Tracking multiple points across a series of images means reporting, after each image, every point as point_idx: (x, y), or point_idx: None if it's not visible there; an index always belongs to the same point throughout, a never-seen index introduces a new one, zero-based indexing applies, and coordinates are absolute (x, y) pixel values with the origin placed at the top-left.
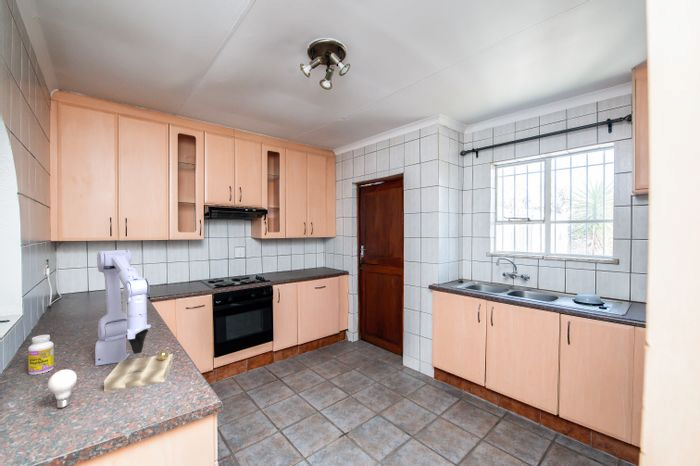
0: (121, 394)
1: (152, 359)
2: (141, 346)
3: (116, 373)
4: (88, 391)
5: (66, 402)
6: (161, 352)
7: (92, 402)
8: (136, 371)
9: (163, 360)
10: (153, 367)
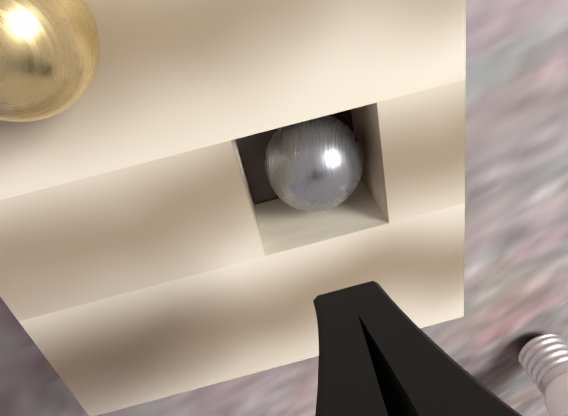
0: (513, 135)
1: (36, 172)
2: (441, 351)
3: None
4: None
5: (565, 347)
6: (37, 55)
7: (546, 247)
8: (342, 179)
9: None
10: (281, 38)
